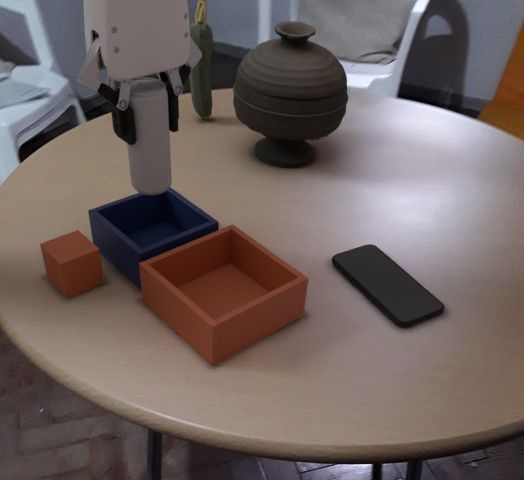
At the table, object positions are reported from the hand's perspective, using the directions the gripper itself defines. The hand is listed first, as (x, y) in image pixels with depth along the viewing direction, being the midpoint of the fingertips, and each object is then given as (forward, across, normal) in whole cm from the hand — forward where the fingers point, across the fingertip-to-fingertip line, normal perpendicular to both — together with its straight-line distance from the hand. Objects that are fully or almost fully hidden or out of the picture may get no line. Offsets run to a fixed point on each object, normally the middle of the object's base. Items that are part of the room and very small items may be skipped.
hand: (147, 132), depth 70 cm
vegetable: (+17, -29, -29) cm, 44 cm away
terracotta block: (+16, +11, -1) cm, 20 cm away
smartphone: (+16, -19, +23) cm, 34 cm away
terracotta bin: (+16, 0, +14) cm, 22 cm away
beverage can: (+7, 0, 0) cm, 7 cm away
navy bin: (+16, 0, 0) cm, 16 cm away
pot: (+17, -33, -11) cm, 38 cm away
